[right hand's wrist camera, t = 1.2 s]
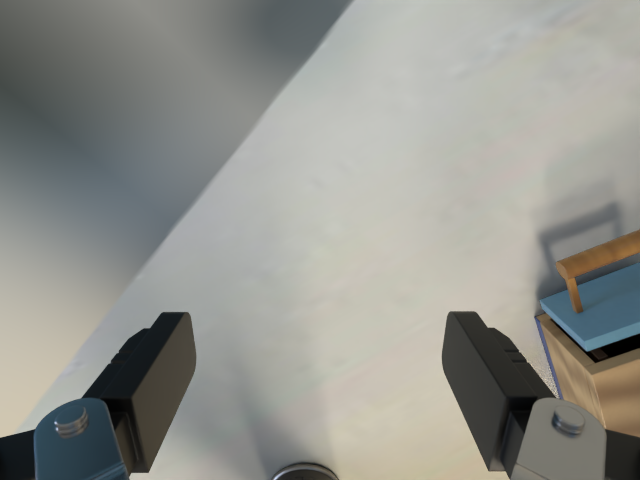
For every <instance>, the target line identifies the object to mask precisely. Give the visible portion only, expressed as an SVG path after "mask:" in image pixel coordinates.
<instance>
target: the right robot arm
mask: <svg viewBox="0 0 640 480" xmlns="http://www.w3.org/2000/svg"><path fill="white" fill-rule="evenodd" d="M442 365H443V370H444V373H445V376H446V378H447V380H448V382H449V384H450V387H451V389H452V391H453V393H454V396H455V398H456V400H457V402H458V404H459V407H460V409H461V411H462V413H463V415H464V418H465V420H466V422H467V424H468V426H469V429H470V431H471V433H472V435H473V438H474V440H475V442H476V444H477V446H478V449H479V451H480V453H481V455H482V457H483V460H484V462H485V464H486V466H487V468H488V471H506V473H507V475H508V477H509V479H510V480H640V437H637V436H633V435H628V434H624V433H620V432H616V431H612V430H607V429H604V427H603V426H602V424H601V423H600V422H599V420H598V419H597V418H596V417H595V416H594V415H592V414H591V413H590V412H588V411H587V410H585V409H584V408H582V407H580V406H578V405H577V404H574V403H572V402H569V401H566V400H563V399H559V398H556V397H555V396H554V394H553V393H552V392H551V391H550V389H549V388H548V387H547V385H546V384H545V383H544V382H543V380H542V379H541V378H540V377H539V375H538V374H537V373H536V372H535V370H534V369H533V368H532V366H531V365H530V364H529V363H527V360H526V359H525V358H524V356H523V355H522V354H521V353H519V350H518V349H517V347H516V346H515V345H514V344H513V342H512V341H511V340H510V339H509V338H508V337H507V336H505V335H504V334H502V333H501V332H500V331H498V330H497V329H495V328H488V327H487V326H486V325H485V323H484V322H483V321H482V319H481V318H480V316H479V315H478V314H477V313H476V312H474V311H451V312H449V313H448V316H447V321H446V328H445V335H444V343H443V350H442ZM195 366H196V349H195V342H194V335H193V328H192V321H191V316H190V314H189V313H188V312H163V313H161V314H160V316H159V317H158V318H157V320H156V321H155V322H154V324H153V325H152V326H151V328H144V329H142V330H141V331H139V332H138V333H136V334H135V335H133V336H132V337H131V338H129V339H128V340H127V341H126V343H125V344H124V345H123V346H122V348H121V349H120V350H119V353H117V354H116V355H115V356H114V358H113V359H112V360H111V363H110V364H108V365H107V367H106V368H105V369H104V370H103V372H102V373H101V374H100V375H99V377H98V378H97V379H96V380H95V382H94V383H93V384H92V385H91V387H90V388H89V389H88V390H87V392H86V393H85V394H84V395H83V397H82V398H81V399H77V400H74V401H71V402H68V403H66V404H63V405H62V406H60V407H58V408H56V409H55V410H53V411H52V412H50V413H49V414H48V415H46V416H45V417H44V418H43V419H42V420H41V422H40V423H39V424H38V426H37V427H36V429H34V430H31V431H27V432H23V433H18V434H14V435H10V436H6V437H2V438H0V480H130V479H129V476H130V474H131V473H149V471H150V468H151V466H152V464H153V462H154V460H155V457H156V455H157V453H158V451H159V449H160V447H161V444H162V442H163V440H164V438H165V436H166V433H167V431H168V429H169V427H170V425H171V422H172V420H173V418H174V416H175V414H176V412H177V409H178V407H179V405H180V403H181V401H182V398H183V396H184V394H185V392H186V390H187V388H188V385H189V383H190V381H191V379H192V377H193V374H194V371H195ZM272 480H338V479H337V477H336V476H335V475H334V474H333V473H332V472H330V471H329V470H327V469H326V468H323V467H321V466H318V465H313V464H295V465H291V466H288V467H286V468H283V469H282V470H280V471H279V472H277V473H276V474H275V475H274V476H273V478H272Z"/></svg>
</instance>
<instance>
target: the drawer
mask: <svg viewBox="0 0 640 480" xmlns="http://www.w3.org/2000/svg"><path fill="white" fill-rule="evenodd" d="M637 253H640V229H639V230H637V231H634V232H632V233H629V234H627V235H624V236H621V237H619V238H616V239H614V240H611V241H609V242H606V243H604V244H601V245H598V246H596V247H593V248H591V249H588V250H586V251H583V252H581V253H578V254H575V255H573V256H570V257H568V258H565V259H563V260H560V261H558V262H556V268H557V270H558V272H559V274H560V275H561V276H562V277H563V278H564V279H565V281H566V285H567V288H568V289H567V290H565V291H562V292H559V293H557V294H554V295H551V296H549V297H546V298H543V299H541V300H540V303H541V307H542V309H543V310H544V311H545V312H546V313H547V314H548V315H549V316H550V317H551V318H552V319H553V320H554V321H555V322H556V323H558V324H559V327H560V330H561V331H562V332H564V333H565V334H566V335H567V336H568V337H569V338H570V339H571V340H572V341H573V342H574V343H575V344H576V345H577V346H578V347H579V348H580V349H581V350H582V351H583V352H584V353H585V354H586V355H587V356H588V357H589V358H590V359H591V360H592V361H593V362H595V363H598V362H601V361H604V360H606V359H609V358H612V357H615V356H618V355H621V354H624V353H627V352H630V351H633V350H636V349H638V348H640V262H639V263H636V264H633V265H631V266H628V267H625V268H623V269H620V270H617V271H615V272H612V273H610V274H607V275H604V276H602V277H599V278H596V279H594V280H591V281H588V282H586V283H583V284H580V285H578V286H577V284H576V280H575V277H577V276H579V275H582V274H585V273H587V272H590V271H593V270H595V269H598V268H600V267H603V266H606V265H608V264H611V263H614V262H616V261H619V260H621V259H624V258H627V257H629V256H632V255H634V254H637Z"/></svg>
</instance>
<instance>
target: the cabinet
mask: <svg viewBox="0 0 640 480" xmlns="http://www.w3.org/2000/svg"><path fill="white" fill-rule="evenodd" d="M535 320H536V324H537V327H538V330H539V333H540V336H541V340H542V343H543V346H544V349H545V352H546V355H547V359H548V362H549V365H550V368H551V371H552V375H553V378H554V381H555V384H556V387H557V391H558V394H559V397H560V399H563V400H566V401H569V402H572V403H574V404H577V405H578V406H580V407H582V408H584V409H585V410H587V411H588V412H590V413H591V414H592V415H594V416H595V417H596V418H597V419H598V420H599V422H600V423H601V424H602V426H603V427H604V429H607V430H612V431H616V432H620V433H624V434H628V435H633V436H637V437H640V348H638V349H636V350H633V351H630V352H627V353H624V354H621V355H618V356H615V357H612V358H609V359H606V360H604V361H601V362H598V363H595V362H593V361H592V360H591V359H590V358H589V357H588V356H587V355H586V354H585V353H584V352H583V351H582V350H581V349H580V348H579V347H578V346H577V345H576V344H575V343H574V342H573V341H572V340H571V339H570V338H569V337H568V336H567V335H566V334H565V333H564V332H562V331H561V330H560V327H559V324H558V323H556V322H555V321H554V320H553V319H552V318H551V317H550V316H549V315H548V314H547V313H545V314H542V315H539V316H537V317H535Z"/></svg>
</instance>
